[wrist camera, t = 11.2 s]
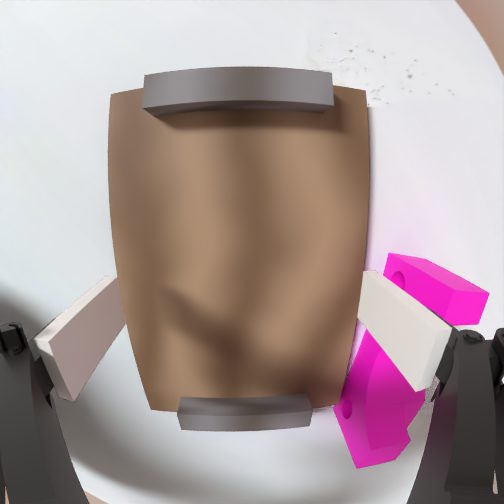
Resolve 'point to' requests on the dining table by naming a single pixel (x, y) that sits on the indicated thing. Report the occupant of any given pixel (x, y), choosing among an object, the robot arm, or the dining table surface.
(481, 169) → the dining table surface
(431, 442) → the robot arm
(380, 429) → the toy block
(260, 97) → the wooden serving tray
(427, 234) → the dining table surface
